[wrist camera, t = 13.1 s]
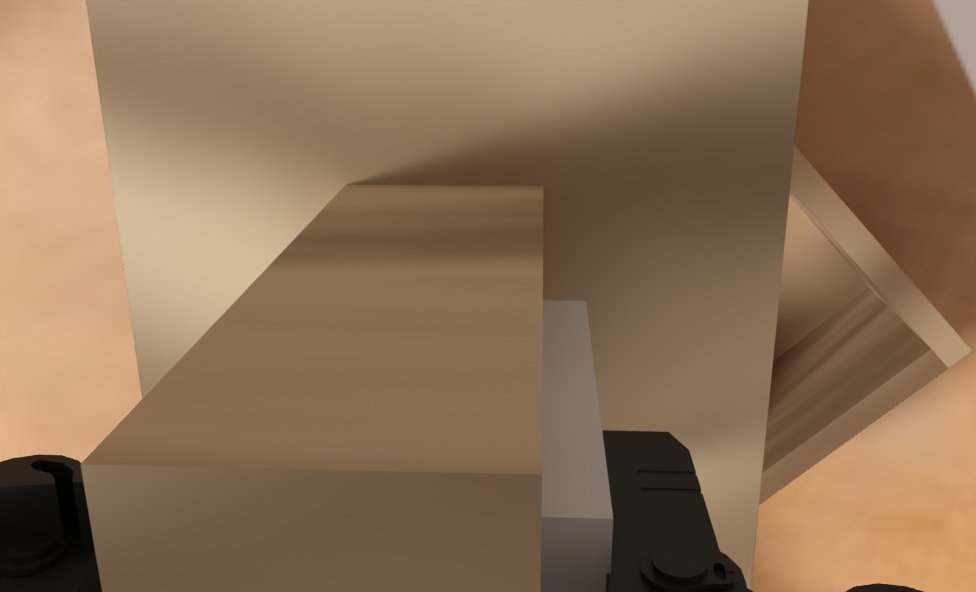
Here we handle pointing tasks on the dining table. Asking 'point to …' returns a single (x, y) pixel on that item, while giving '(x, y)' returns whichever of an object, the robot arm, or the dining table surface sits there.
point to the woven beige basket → (841, 333)
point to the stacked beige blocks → (428, 273)
